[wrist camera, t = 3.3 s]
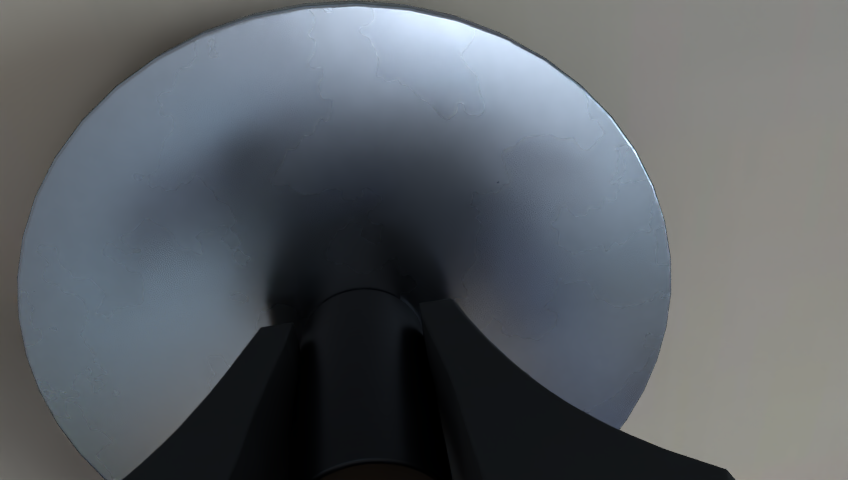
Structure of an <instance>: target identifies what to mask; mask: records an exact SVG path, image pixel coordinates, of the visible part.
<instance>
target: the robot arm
mask: <svg viewBox="0 0 848 480" xmlns="http://www.w3.org/2000/svg"><path fill="white" fill-rule="evenodd" d="M419 307H420V314H421V322H422V330H423V337H424V342H425V347H426V352H427V357H428V362H429V367H430V371H431V375H432V379H433V383H434V388H435V393H436V398H437V403H438V408H439V413H440V418H441V423H442V428H443V433H444V438H445V443H446V448H447V453H448V458H449V463H450V468H451V473H452V478H453V480H735V479H734V478H733V477H732V475H731V474H730V473H729V472H728V471H727V470H726V469H723V468H720V467H717V466H714V465H711V464H708V463H705V462H702V461H699V460H696V459H693V458H690V457H687V456H684V455H681V454H678V453H675V452H672V451H669V450H666V449H663V448H661V447H658V446H656V445H653V444H651V443H649V442H646V441H644V440H641V439H639V438H636V437H634V436H632V435H629V434H627V433H625V432H623V431H621V430H619V429H616V428H614V427H612V426H610V425H608V424H606V423H604V422H602V421H600V420H599V419H597V418H595V417H593V416H591V415H589V414H587V413H585V412H583V411H582V410H580V409H578V408H576V407H575V406H573V405H571V404H570V403H568V402H566V401H565V400H563V399H562V398H560V397H559V396H557V395H555V394H554V393H552V392H551V391H549V390H548V389H547V388H545V387H544V386H543V385H541V384H540V383H538V382H537V381H536V380H535V379H533V378H532V377H531V376H529V375H528V374H527V373H526V372H525V371H523V370H522V369H521V368H520V367H518V366H517V365H516V364H515V363H514V362H513V361H511V360H510V359H509V358H508V357H507V356H506V355H505V354H504V353H503V352H502V351H500V350H499V349H498V348H497V347H496V346H495V345H494V344H493V343H492V342H491V341H490V340H489V339H488V338H487V337H486V336H485V335H484V334H483V333H482V332H481V331H480V330H479V329H478V328H477V327H476V325H475V324H474V323H473V322H472V321H471V320H470V319H469V318H468V316H467V315H466V314H465V313H464V312H463V310H462V309H461V308H460V306H459V305H458V304H457V303H456V302H455V301H454V300H452V299H451V298H450V299H443V300H437V301H430V302H424V303H419ZM299 359H300V349H299V344H298V340H297V336H296V332H295V327H294V323H293V322H292V323H285V324H279V325H272V326H266V327H261V328H260V329H259V330H258V332H257V333H256V334H255V335H254V337H253V338H252V339H251V340H250V342H249V343H248V344H247V346H246V347H245V348H244V350H243V351H242V352H241V354H240V355H239V356H238V358H237V359H236V360H235V361H234V363H233V364H232V365H231V367H230V368H229V369H228V371H227V372H226V373H225V374H224V376H223V377H222V378H221V379H220V381H219V382H218V383H217V384H216V386H215V387H214V388H213V389H212V390H211V392H210V393H209V394H208V395H207V396H206V398H205V399H204V400H203V401H202V402H201V403H200V404H199V405H198V407H197V408H196V409H195V410H194V411H193V412H192V413H191V414H190V415H189V417H188V418H187V419H186V420H185V421H184V422H183V423H182V424H181V425H180V427H179V428H178V429H177V430H176V431H175V432H174V433H173V434H172V435H171V436H170V437H169V438H168V439H167V440H166V441H165V442H164V443H163V444H162V445H161V446H159V447H158V448H157V449H156V450H155V451H154V452H153V453H152V454H151V455H150V456H149V457H147V458H146V459H145V460H144V461H143V462H142V463H141V464H140V465H139V466H138V467H136V468H135V469H134V470H133V471H132V472H131V473H129V474H128V475H127V476H126V477H124V478H123V479H122V480H287V471H288V462H289V452H290V443H291V433H292V424H293V414H294V405H295V396H296V387H297V378H298V368H299Z"/></svg>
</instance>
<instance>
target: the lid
mask: <svg viewBox="0 0 848 480" xmlns="http://www.w3.org/2000/svg"><path fill="white" fill-rule="evenodd" d="M17 283H18V313H19V322H20V327H21V332H22V337H23V342H24V347H25V352H26V356H27V359H28V362H29V365H30V367H31V370H32V373H33V375H34V378H35V381H36V384H37V386H38V389H39V391H40V393H41V395H42V397H43V399H44V401H45V402H46V404H47V406H48V408H49V410H50V411H51V413H52V415H53V417H54V419H55V421H56V422H57V424H58V425H59V427H60V428H61V429H62V431H63V432H64V433H65V435H66V436H67V437H68V439H69V440H70V441H71V443H72V444H73V445H74V447H75V448H76V449H77V451H78V452H79V453H80V454H81V455H82V456H83V457H84V458H85V459H86V460H87V461H88V462H89V464H90V465H91V466H92V467H93V468H94V469H95V470H96V471H97V472H98V473H99V474H100V475H101V476H102V477H103V478H104V479H105V480H122V479H123V478H124V477H126V476H127V475H128V474H129V473H131V472H132V471H133V470H134V469H135V468H136V467H138V466H139V465H140V464H141V463H142V462H143V461H144V460H145V459H146V458H147V457H149V456H150V455H151V454H152V453H153V452H154V451H155V450H156V449H157V448H158V447H159V446H161V445H162V444H163V443H164V442H165V441H166V440H167V439H168V438H169V437H170V436H171V435H172V434H173V433H174V432H175V431H176V430H177V429H178V428H179V427H180V425H181V424H182V423H183V422H184V421H185V420H186V419H187V418H188V417H189V415H190V414H191V413H192V412H193V411H194V410H195V409H196V408H197V407H198V405H199V404H200V403H201V402H202V401H203V400H204V399H205V398H206V396H207V395H208V394H209V393H210V392H211V390H212V389H213V388H214V387H215V386H216V384H217V383H218V382H219V381H220V379H221V378H222V377H223V376H224V374H225V373H226V372H227V371H228V369H229V368H230V367H231V365H232V364H233V363H234V361H235V360H236V359H237V358H238V356H239V355H240V354H241V352H242V351H243V350H244V348H245V347H246V346H247V344H248V343H249V342H250V340H251V339H252V338H253V337H254V335H255V334H256V333H257V332H258V330H259V329H260V328H261V327H266V326H272V325H279V324H285V323H292V322H293V323H294V327H295V332H296V336H297V340H298V344H299V349H300V359H299V368H298V378H297V387H296V396H295V405H294V414H293V424H292V433H291V443H290V452H289V462H288V471H287V480H453V478H452V473H451V468H450V463H449V458H448V453H447V448H446V443H445V438H444V433H443V428H442V423H441V418H440V413H439V408H438V403H437V398H436V393H435V388H434V383H433V379H432V375H431V371H430V367H429V362H428V357H427V352H426V347H425V342H424V337H423V330H422V322H421V314H420V307H419V303H424V302H430V301H437V300H443V299H450V298H451V299H452V300H454V301H455V302H456V303H457V304H458V305H459V306H460V308H461V309H462V310H463V312H464V313H465V314H466V315H467V316H468V318H469V319H470V320H471V321H472V322H473V323H474V324H475V325H476V327H477V328H478V329H479V330H480V331H481V332H482V333H483V334H484V335H485V336H486V337H487V338H488V339H489V340H490V341H491V342H492V343H493V344H494V345H495V346H496V347H497V348H498V349H499V350H500V351H502V352H503V353H504V354H505V355H506V356H507V357H508V358H509V359H510V360H511V361H513V362H514V363H515V364H516V365H517V366H518V367H520V368H521V369H522V370H523V371H525V372H526V373H527V374H528V375H529V376H531V377H532V378H533V379H535V380H536V381H537V382H538V383H540V384H541V385H543V386H544V387H545V388H547V389H548V390H549V391H551V392H552V393H554V394H555V395H557V396H559V397H560V398H562V399H563V400H565V401H566V402H568V403H570V404H571V405H573V406H575V407H576V408H578V409H580V410H582V411H583V412H585V413H587V414H589V415H591V416H593V417H595V418H597V419H599V420H600V421H602V422H604V423H606V424H608V425H610V426H612V427H614V428H616V429H620V428H621V427H622V425H623V424H624V423H625V422H626V420H627V419H628V417H629V415H630V413H631V412H632V410H633V408H634V407H635V405H636V403H637V402H638V400H639V398H640V397H641V395H642V393H643V391H644V389H645V387H646V385H647V382H648V380H649V378H650V375H651V373H652V371H653V368H654V366H655V364H656V362H657V359H658V355H659V351H660V348H661V344H662V341H663V337H664V334H665V330H666V326H667V319H668V311H669V304H670V297H671V257H670V250H669V244H668V238H667V232H666V225H665V220H664V217H663V214H662V211H661V208H660V204H659V201H658V198H657V195H656V192H655V189H654V186H653V184H652V182H651V180H650V178H649V176H648V174H647V172H646V170H645V168H644V166H643V164H642V162H641V160H640V158H639V156H638V154H637V152H636V150H635V148H634V147H633V146H632V144H631V143H630V141H629V140H628V139H627V137H626V136H625V134H624V133H623V132H622V130H621V129H620V127H619V126H618V125H617V123H616V122H615V120H614V119H613V118H612V116H611V115H610V114H609V113H608V112H607V111H606V110H605V109H604V108H603V107H602V106H601V105H600V104H599V103H598V102H597V101H596V100H595V99H594V98H593V97H592V96H591V95H590V94H589V93H588V92H587V91H586V90H585V89H584V88H583V86H582V85H580V84H579V83H578V82H576V81H575V80H574V79H572V78H571V77H570V76H568V75H567V74H566V73H564V72H563V71H562V70H560V69H559V68H558V67H556V66H555V65H554V64H553V63H551V62H550V61H549V60H547V59H546V58H544V57H543V56H541V55H540V54H538V53H536V52H534V51H532V50H530V49H529V48H527V47H525V46H523V45H521V44H520V43H518V42H516V41H514V40H512V39H510V38H509V37H507V36H505V35H503V34H501V33H500V32H497V31H494V30H492V29H489V28H487V27H484V26H481V25H479V24H476V23H473V22H471V21H468V20H465V19H463V18H460V17H457V16H455V15H451V14H446V13H442V12H437V11H433V10H428V9H424V8H419V7H415V6H410V5H406V4H393V3H381V2H369V1H357V0H354V1H336V2H318V3H304V4H298V5H293V6H288V7H283V8H278V9H273V10H268V11H263V12H258V13H254V14H251V15H248V16H245V17H242V18H239V19H236V20H233V21H231V22H228V23H225V24H222V25H219V26H216V27H213V28H211V29H208V30H205V31H204V32H202V33H200V34H198V35H196V36H194V37H192V38H190V39H188V40H186V41H184V42H182V43H180V44H179V45H177V46H175V47H173V48H171V49H169V50H167V51H165V52H163V53H161V54H160V55H158V56H157V57H155V58H154V59H153V60H151V61H150V62H149V63H147V64H146V65H144V66H143V67H142V68H140V69H139V70H138V71H136V72H135V73H133V74H132V75H131V76H129V77H128V78H127V79H125V80H124V81H122V82H121V83H120V84H118V85H117V86H116V87H115V88H114V89H113V90H112V91H111V92H110V93H109V94H108V95H107V96H106V97H105V98H104V99H103V100H102V101H101V102H100V103H99V104H98V105H97V106H96V107H95V108H94V109H93V110H92V111H91V112H90V113H89V114H88V115H86V116H85V117H84V118H83V119H82V121H81V122H80V123H79V125H78V126H77V128H76V129H75V130H74V132H73V133H72V134H71V136H70V137H69V139H68V140H67V141H66V143H65V144H64V145H63V147H62V148H61V150H60V151H59V152H58V154H57V155H56V156H55V158H54V160H53V162H52V164H51V166H50V168H49V170H48V172H47V174H46V176H45V178H44V180H43V182H42V184H41V186H40V188H39V190H38V192H37V194H36V196H35V199H34V202H33V205H32V208H31V212H30V215H29V218H28V221H27V224H26V228H25V231H24V234H23V238H22V246H21V253H20V261H19V268H18V276H17Z"/></svg>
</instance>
